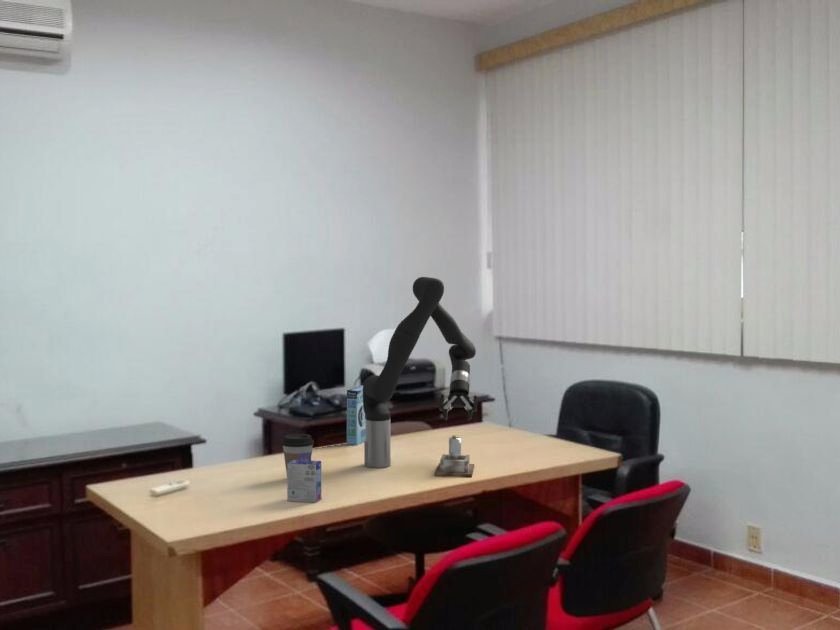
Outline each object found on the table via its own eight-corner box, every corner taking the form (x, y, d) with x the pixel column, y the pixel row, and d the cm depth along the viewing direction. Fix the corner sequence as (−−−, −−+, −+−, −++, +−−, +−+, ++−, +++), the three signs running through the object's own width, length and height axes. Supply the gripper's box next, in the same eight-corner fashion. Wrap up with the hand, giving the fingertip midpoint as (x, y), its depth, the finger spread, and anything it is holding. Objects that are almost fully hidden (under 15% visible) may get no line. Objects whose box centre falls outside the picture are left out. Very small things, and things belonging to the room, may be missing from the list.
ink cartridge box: (322, 498, 272) (322, 453, 271) (316, 503, 266) (316, 457, 266) (292, 496, 274) (292, 451, 273) (286, 501, 268) (286, 455, 268)
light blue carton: (364, 436, 374) (364, 384, 373) (375, 436, 373) (374, 384, 372) (346, 444, 356) (345, 389, 355) (357, 445, 354) (357, 390, 353)
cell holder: (434, 476, 301) (434, 461, 301) (439, 465, 317) (439, 452, 317) (471, 477, 300) (471, 462, 300) (474, 466, 316) (474, 453, 316)
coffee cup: (305, 484, 290) (304, 440, 289) (275, 481, 294) (274, 438, 293) (320, 476, 300) (320, 434, 300) (291, 474, 304) (291, 432, 303)
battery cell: (448, 469, 307) (448, 437, 306) (449, 466, 311) (449, 434, 311) (460, 470, 306) (460, 437, 306) (461, 467, 311) (461, 434, 310)
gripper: (440, 378, 327) (437, 413, 316) (478, 379, 325) (476, 414, 315) (441, 390, 333) (438, 425, 322) (478, 391, 331) (476, 425, 320)
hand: (457, 419), depth 318 cm, fingers open, 8 cm apart
